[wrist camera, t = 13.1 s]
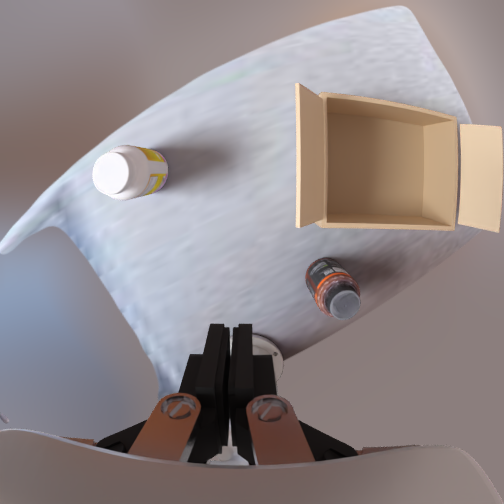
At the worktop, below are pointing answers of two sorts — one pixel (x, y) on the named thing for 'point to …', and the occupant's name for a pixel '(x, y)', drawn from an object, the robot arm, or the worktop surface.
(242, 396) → the robot arm
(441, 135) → the carton
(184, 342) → the worktop surface
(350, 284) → the supplement bottle
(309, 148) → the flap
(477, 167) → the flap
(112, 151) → the supplement bottle
